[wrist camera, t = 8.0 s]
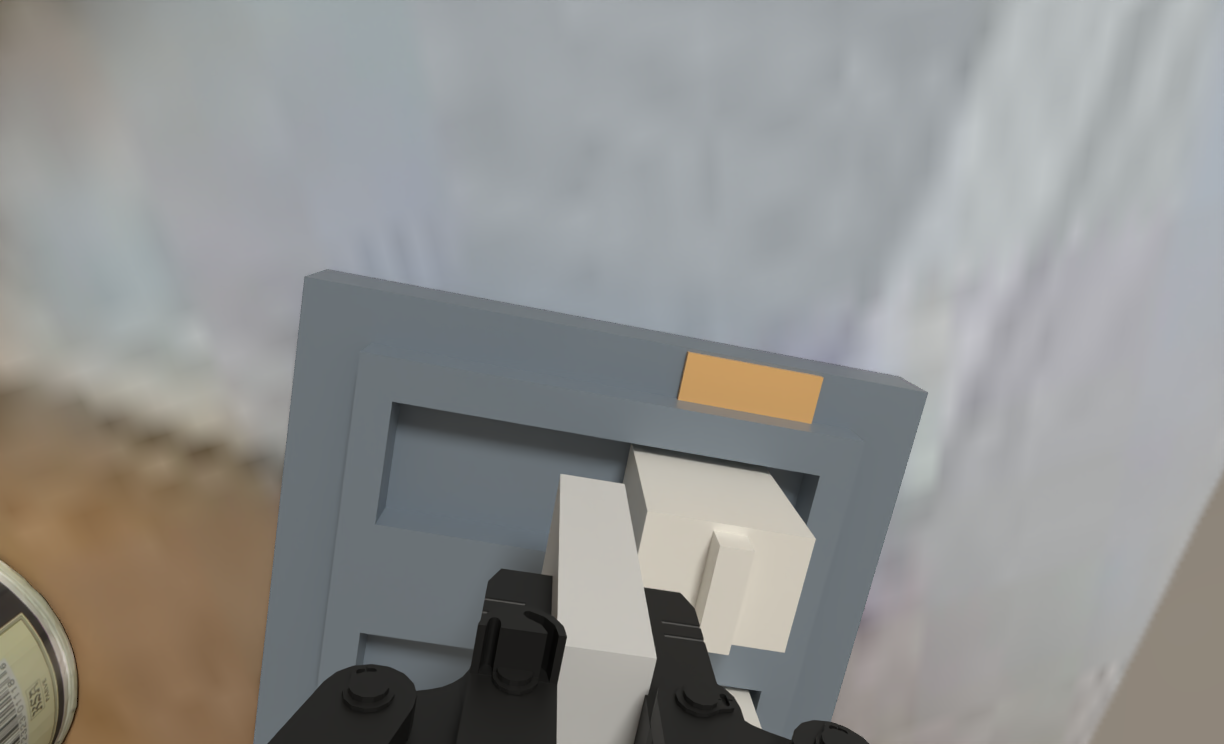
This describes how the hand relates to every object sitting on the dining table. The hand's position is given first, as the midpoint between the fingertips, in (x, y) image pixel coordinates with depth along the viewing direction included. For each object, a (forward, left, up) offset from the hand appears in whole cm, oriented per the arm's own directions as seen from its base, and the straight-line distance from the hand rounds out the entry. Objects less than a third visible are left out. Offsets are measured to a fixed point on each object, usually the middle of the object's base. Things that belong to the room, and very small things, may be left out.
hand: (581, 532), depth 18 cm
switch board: (+1, -4, -7) cm, 8 cm away
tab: (+3, -1, -5) cm, 6 cm away
